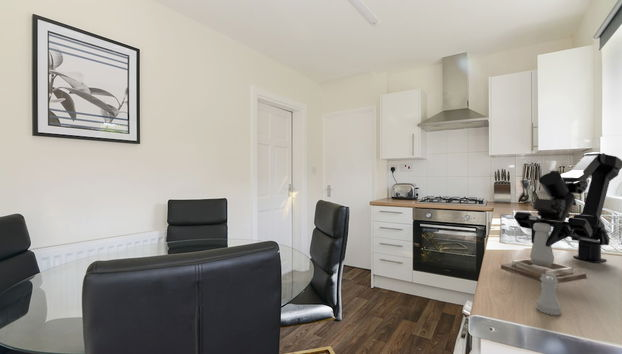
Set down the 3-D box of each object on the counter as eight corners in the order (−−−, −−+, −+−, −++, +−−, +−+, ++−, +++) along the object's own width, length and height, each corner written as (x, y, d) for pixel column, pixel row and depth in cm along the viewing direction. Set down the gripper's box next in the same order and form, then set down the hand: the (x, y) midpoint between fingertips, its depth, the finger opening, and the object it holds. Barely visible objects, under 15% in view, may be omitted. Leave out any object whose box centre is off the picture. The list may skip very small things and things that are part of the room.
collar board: (536, 262, 97) (536, 255, 97) (586, 277, 83) (586, 268, 83) (501, 267, 92) (501, 259, 92) (548, 283, 79) (548, 274, 79)
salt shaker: (537, 261, 92) (537, 221, 91) (558, 266, 86) (558, 224, 86) (526, 263, 89) (526, 222, 89) (547, 269, 84) (547, 225, 84)
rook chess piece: (530, 306, 65) (531, 272, 65) (548, 306, 66) (548, 271, 65) (548, 316, 61) (548, 279, 61) (567, 315, 61) (568, 279, 61)
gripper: (517, 188, 97) (497, 222, 93) (588, 191, 81) (567, 233, 76) (530, 209, 101) (511, 243, 96) (600, 216, 84) (582, 258, 80)
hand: (539, 244), depth 87 cm, fingers closed on salt shaker, 3 cm apart
